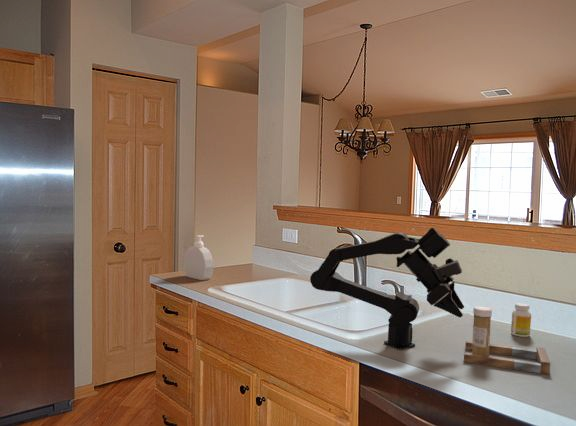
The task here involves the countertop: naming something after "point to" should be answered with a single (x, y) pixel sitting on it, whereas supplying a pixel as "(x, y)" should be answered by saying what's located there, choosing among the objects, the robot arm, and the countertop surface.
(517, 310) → the supplement bottle
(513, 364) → the walnut slot
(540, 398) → the countertop surface
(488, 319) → the sprinkles bottle
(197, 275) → the soap bottle
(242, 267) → the countertop surface
